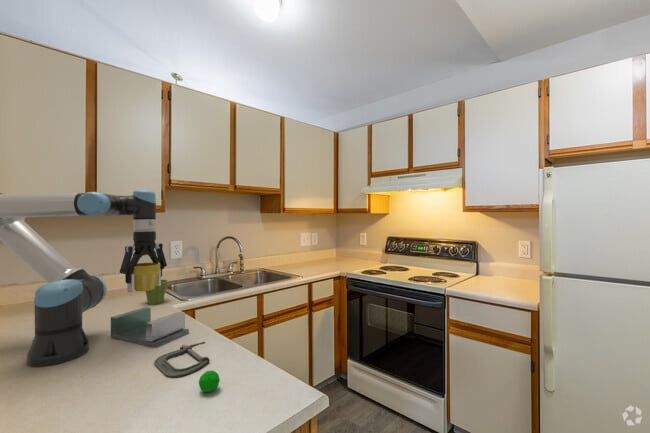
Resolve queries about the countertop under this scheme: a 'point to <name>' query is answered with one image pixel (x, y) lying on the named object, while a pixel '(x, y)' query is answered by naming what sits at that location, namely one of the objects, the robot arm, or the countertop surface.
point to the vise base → (139, 328)
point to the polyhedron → (209, 381)
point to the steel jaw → (165, 326)
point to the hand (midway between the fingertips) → (144, 288)
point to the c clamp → (174, 372)
